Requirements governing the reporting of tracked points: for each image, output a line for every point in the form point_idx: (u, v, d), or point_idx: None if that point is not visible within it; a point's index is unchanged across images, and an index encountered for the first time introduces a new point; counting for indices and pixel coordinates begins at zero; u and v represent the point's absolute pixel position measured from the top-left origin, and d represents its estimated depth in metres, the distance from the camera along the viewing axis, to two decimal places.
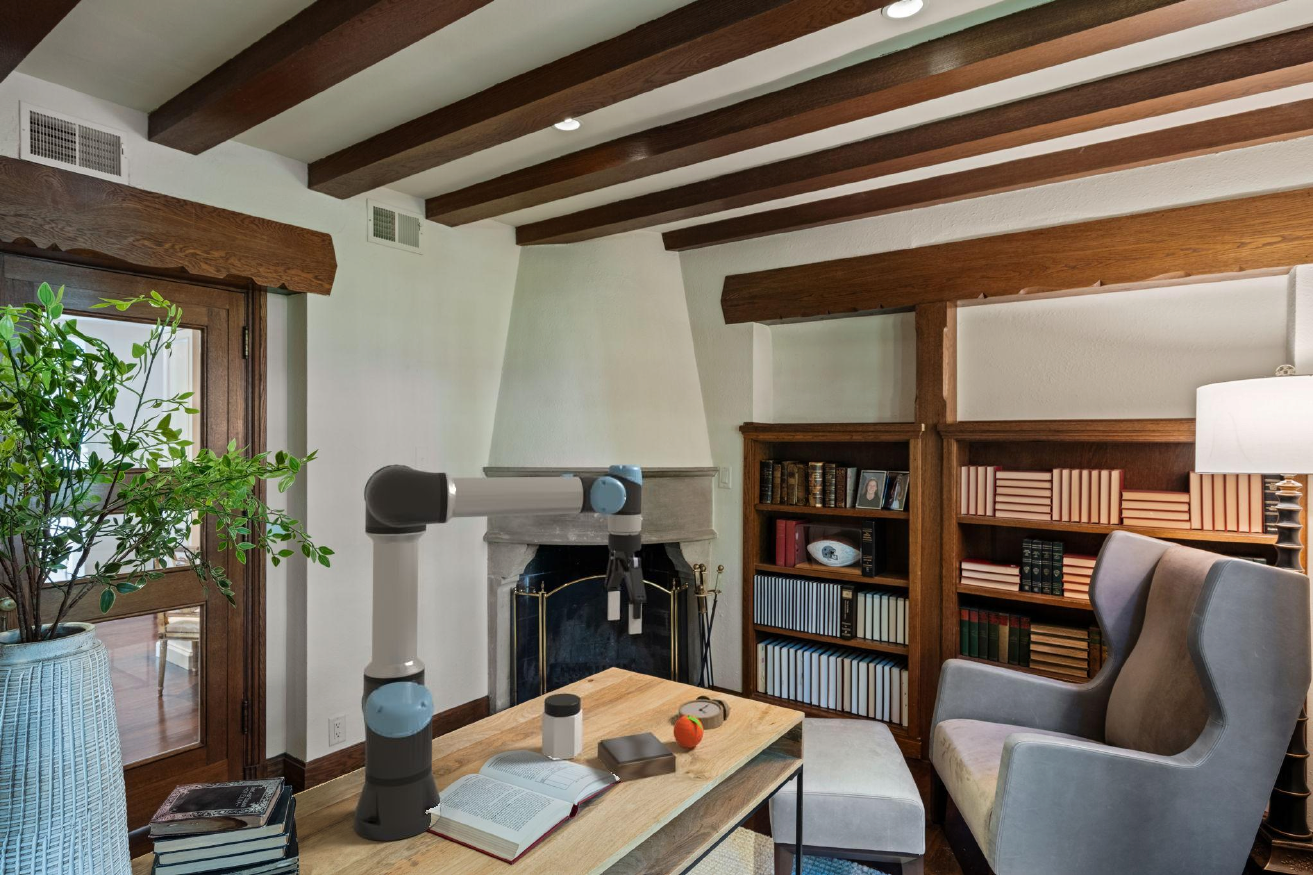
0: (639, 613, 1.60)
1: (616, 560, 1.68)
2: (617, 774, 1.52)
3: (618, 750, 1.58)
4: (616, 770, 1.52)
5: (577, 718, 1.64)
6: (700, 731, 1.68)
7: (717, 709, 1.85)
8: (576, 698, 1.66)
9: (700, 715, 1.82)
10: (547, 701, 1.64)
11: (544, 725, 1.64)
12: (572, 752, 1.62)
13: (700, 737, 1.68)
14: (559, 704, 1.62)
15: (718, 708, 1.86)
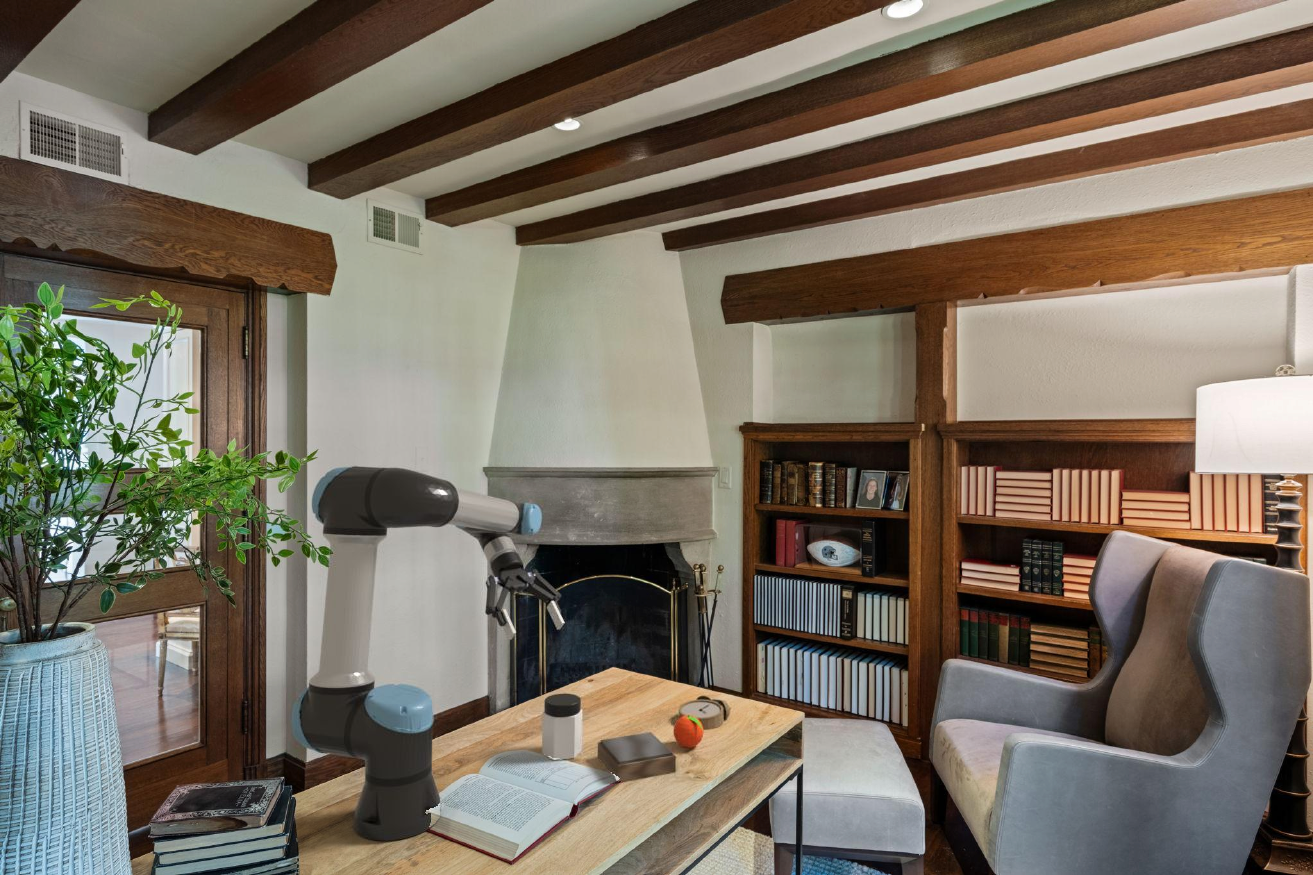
0: None
1: None
2: (617, 774, 1.52)
3: (618, 750, 1.58)
4: (616, 770, 1.52)
5: (577, 718, 1.64)
6: (700, 731, 1.68)
7: (717, 709, 1.85)
8: (576, 698, 1.66)
9: (700, 715, 1.82)
10: (547, 701, 1.64)
11: (544, 725, 1.64)
12: (572, 752, 1.62)
13: (700, 737, 1.68)
14: (559, 704, 1.62)
15: (718, 708, 1.86)
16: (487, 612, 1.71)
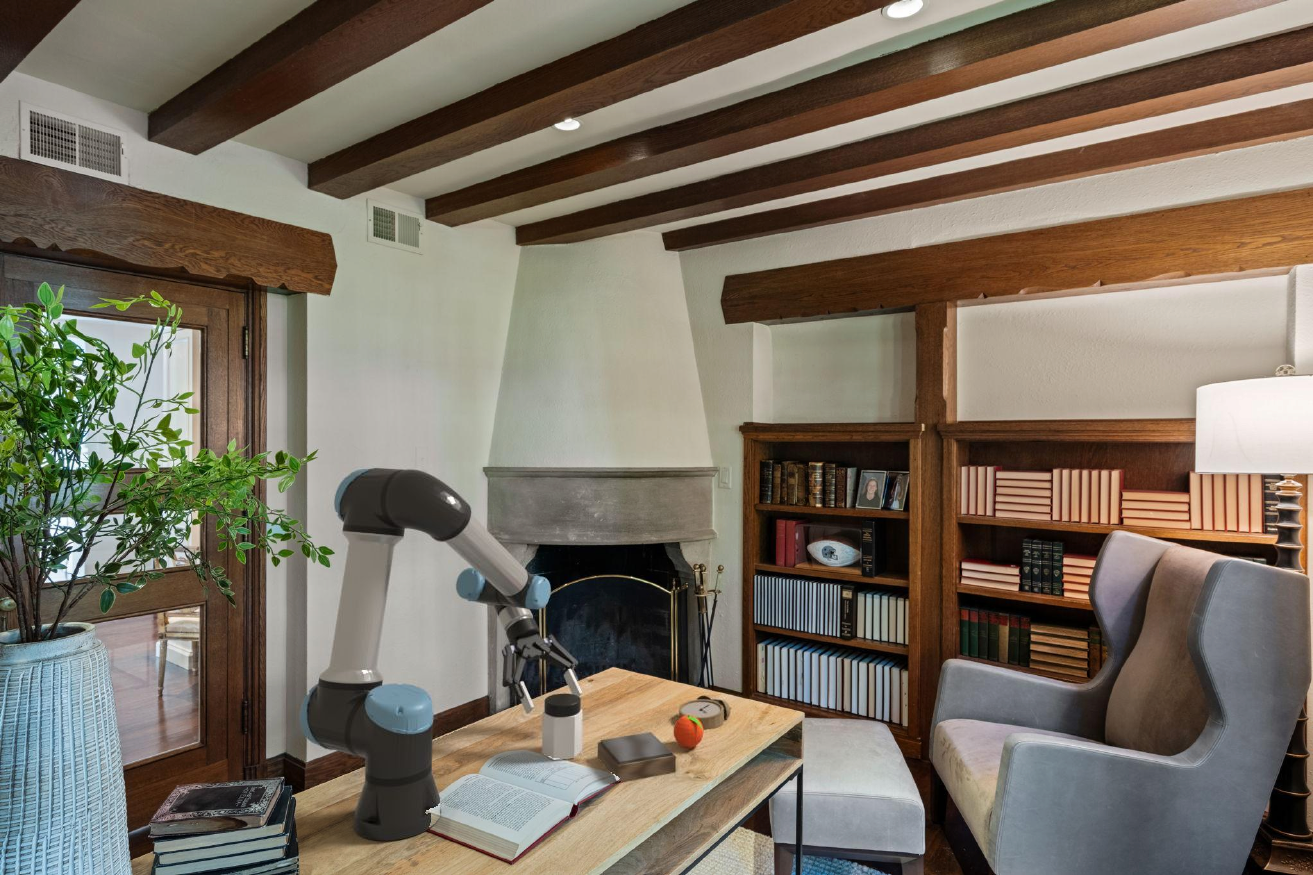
0: None
1: None
2: (617, 774, 1.52)
3: (618, 750, 1.58)
4: (616, 770, 1.52)
5: (577, 718, 1.64)
6: (700, 731, 1.68)
7: (718, 709, 1.85)
8: (576, 698, 1.66)
9: (700, 715, 1.82)
10: (547, 701, 1.64)
11: (544, 725, 1.64)
12: (572, 752, 1.62)
13: (700, 737, 1.68)
14: (559, 704, 1.63)
15: (719, 708, 1.86)
16: (504, 685, 1.67)
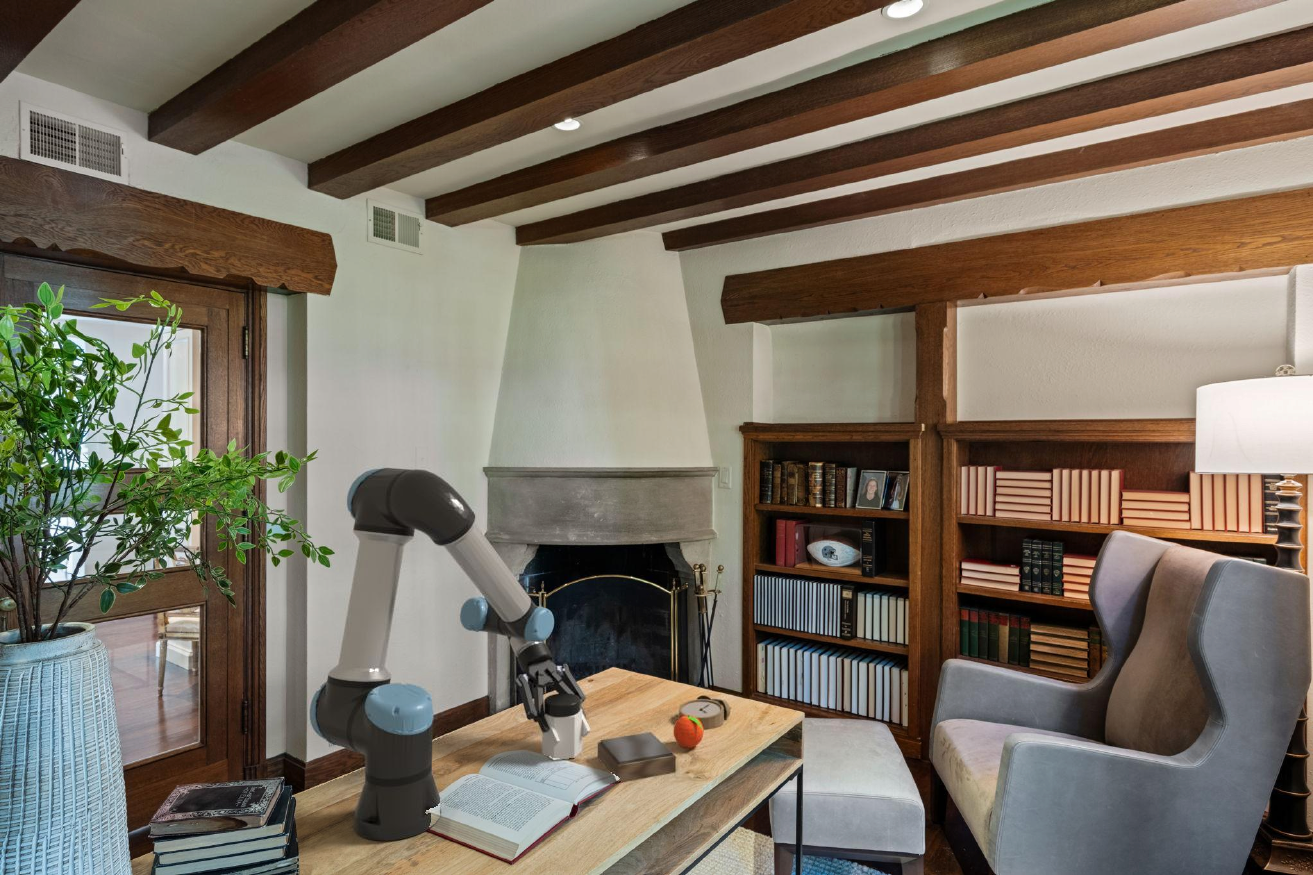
0: None
1: None
2: (617, 774, 1.52)
3: (618, 750, 1.58)
4: (616, 770, 1.52)
5: (577, 718, 1.64)
6: (700, 731, 1.68)
7: (718, 708, 1.86)
8: (576, 698, 1.66)
9: (701, 715, 1.82)
10: (547, 701, 1.64)
11: None
12: (572, 752, 1.62)
13: (700, 737, 1.68)
14: (559, 704, 1.62)
15: (719, 708, 1.86)
16: (528, 717, 1.62)
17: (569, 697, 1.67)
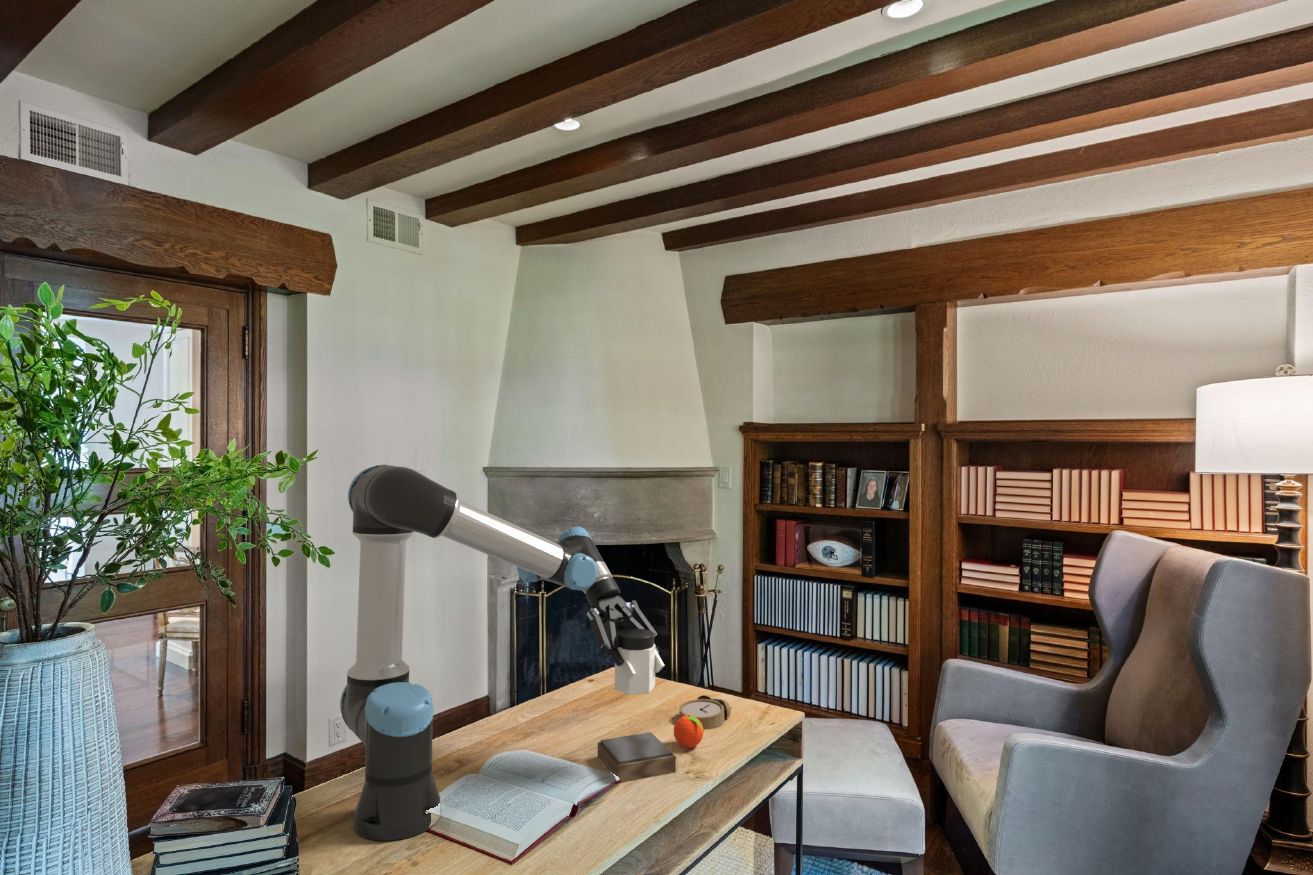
0: None
1: None
2: (617, 774, 1.52)
3: (618, 750, 1.58)
4: (616, 770, 1.52)
5: (651, 652, 1.59)
6: (700, 731, 1.68)
7: (718, 708, 1.86)
8: (649, 632, 1.61)
9: (701, 715, 1.83)
10: (620, 634, 1.59)
11: None
12: (647, 687, 1.57)
13: (700, 737, 1.68)
14: (633, 637, 1.57)
15: (719, 708, 1.86)
16: (602, 650, 1.57)
17: (642, 631, 1.61)
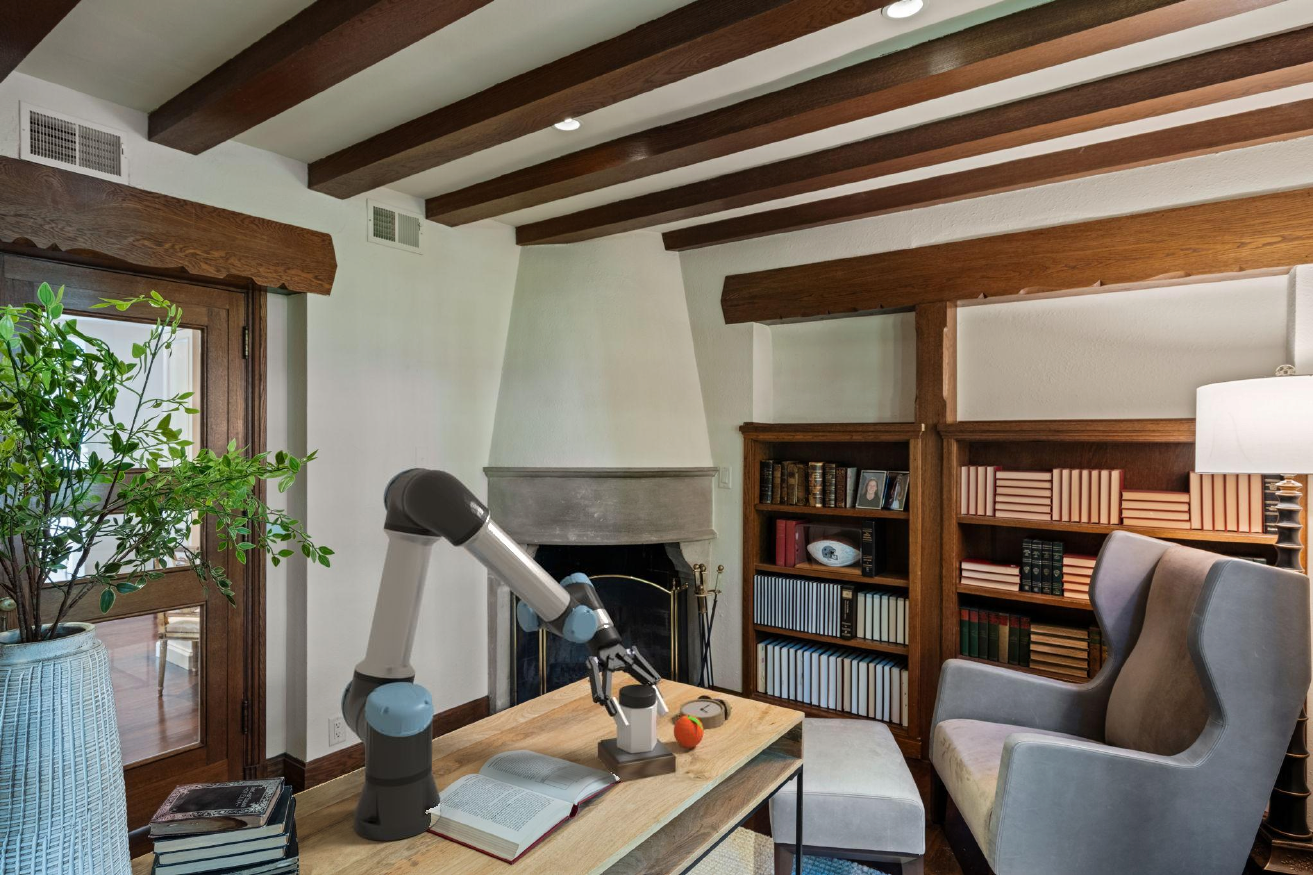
0: None
1: None
2: (617, 774, 1.52)
3: (618, 750, 1.58)
4: (616, 770, 1.52)
5: (654, 709, 1.59)
6: (700, 731, 1.68)
7: (719, 708, 1.86)
8: (651, 689, 1.61)
9: (701, 715, 1.83)
10: (622, 692, 1.59)
11: None
12: (649, 745, 1.57)
13: (700, 737, 1.68)
14: (636, 695, 1.57)
15: (719, 708, 1.86)
16: (595, 701, 1.56)
17: (644, 688, 1.61)
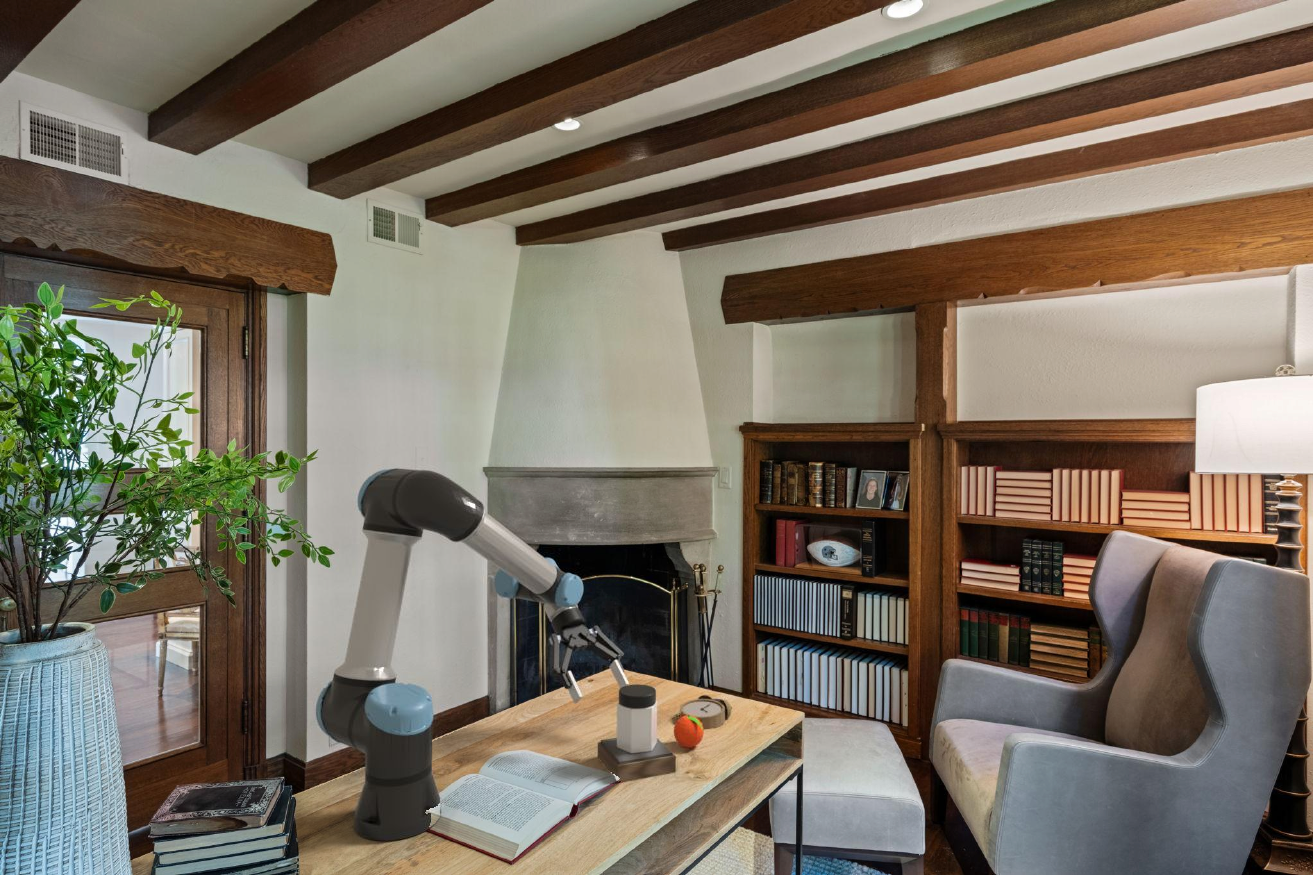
0: None
1: None
2: (617, 774, 1.52)
3: (618, 750, 1.58)
4: (616, 770, 1.52)
5: (653, 709, 1.59)
6: (700, 731, 1.68)
7: (719, 708, 1.86)
8: (651, 689, 1.61)
9: (702, 714, 1.83)
10: (622, 692, 1.59)
11: (619, 717, 1.58)
12: (649, 745, 1.57)
13: (700, 737, 1.68)
14: (636, 695, 1.57)
15: (720, 707, 1.86)
16: (551, 674, 1.66)
17: (644, 688, 1.61)
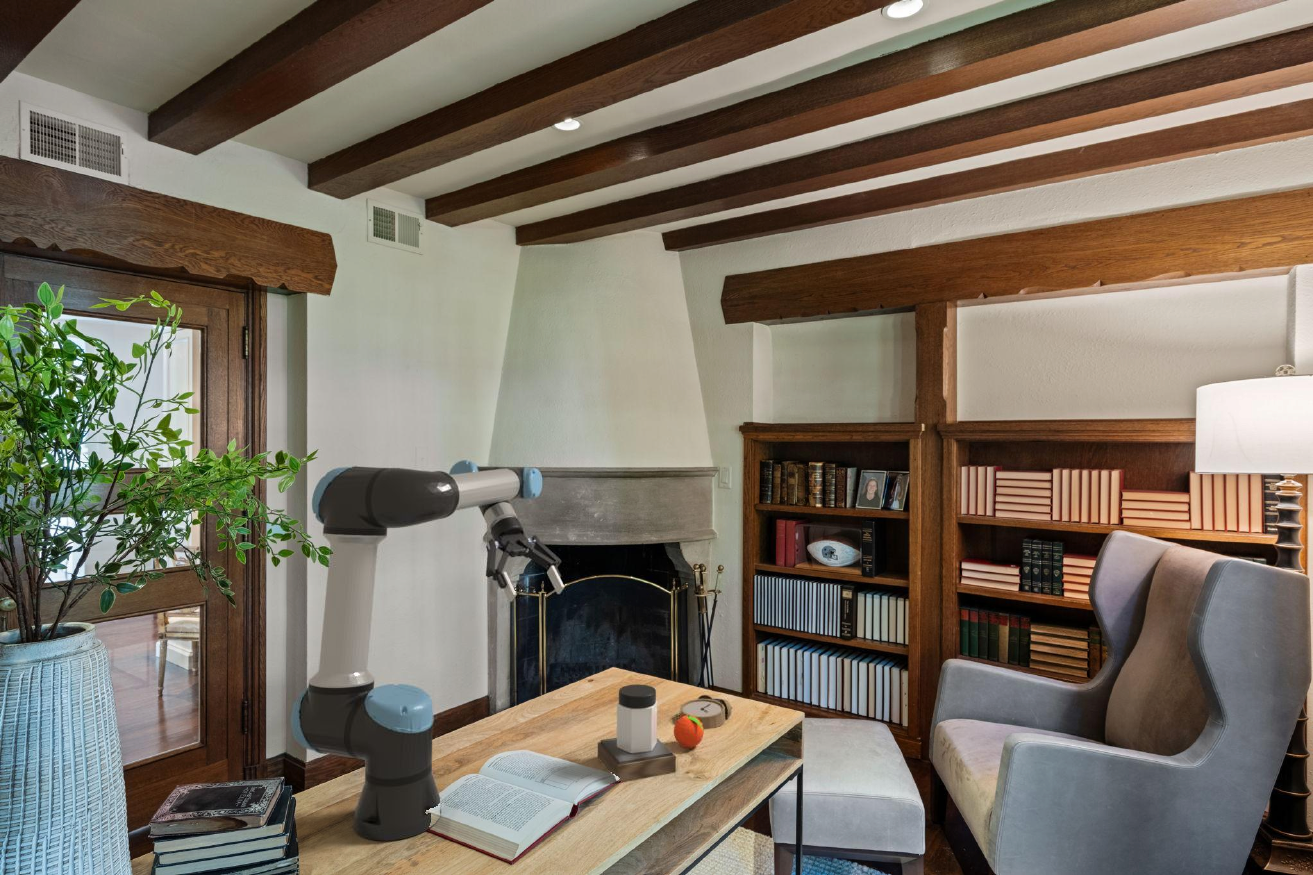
0: None
1: None
2: (617, 774, 1.52)
3: (618, 750, 1.58)
4: (616, 770, 1.52)
5: (653, 709, 1.59)
6: (700, 731, 1.68)
7: (719, 708, 1.86)
8: (651, 689, 1.61)
9: (702, 714, 1.83)
10: (622, 692, 1.59)
11: (619, 717, 1.58)
12: (649, 745, 1.57)
13: (700, 737, 1.68)
14: (636, 695, 1.57)
15: (720, 707, 1.86)
16: (487, 574, 1.72)
17: (644, 688, 1.61)
